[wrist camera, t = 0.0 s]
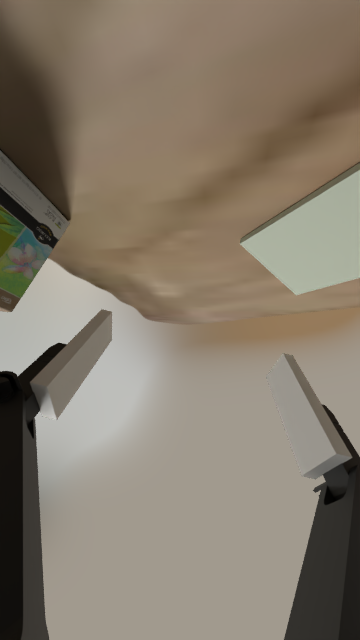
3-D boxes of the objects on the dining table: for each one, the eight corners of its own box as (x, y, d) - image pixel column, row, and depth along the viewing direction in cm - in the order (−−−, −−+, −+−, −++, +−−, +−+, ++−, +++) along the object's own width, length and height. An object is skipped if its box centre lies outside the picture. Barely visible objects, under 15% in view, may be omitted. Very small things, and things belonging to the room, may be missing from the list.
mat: (296, 290, 29) (296, 295, 29) (240, 239, 23) (239, 243, 22) (448, 246, 18) (451, 252, 18) (428, 118, 11) (432, 124, 11)
